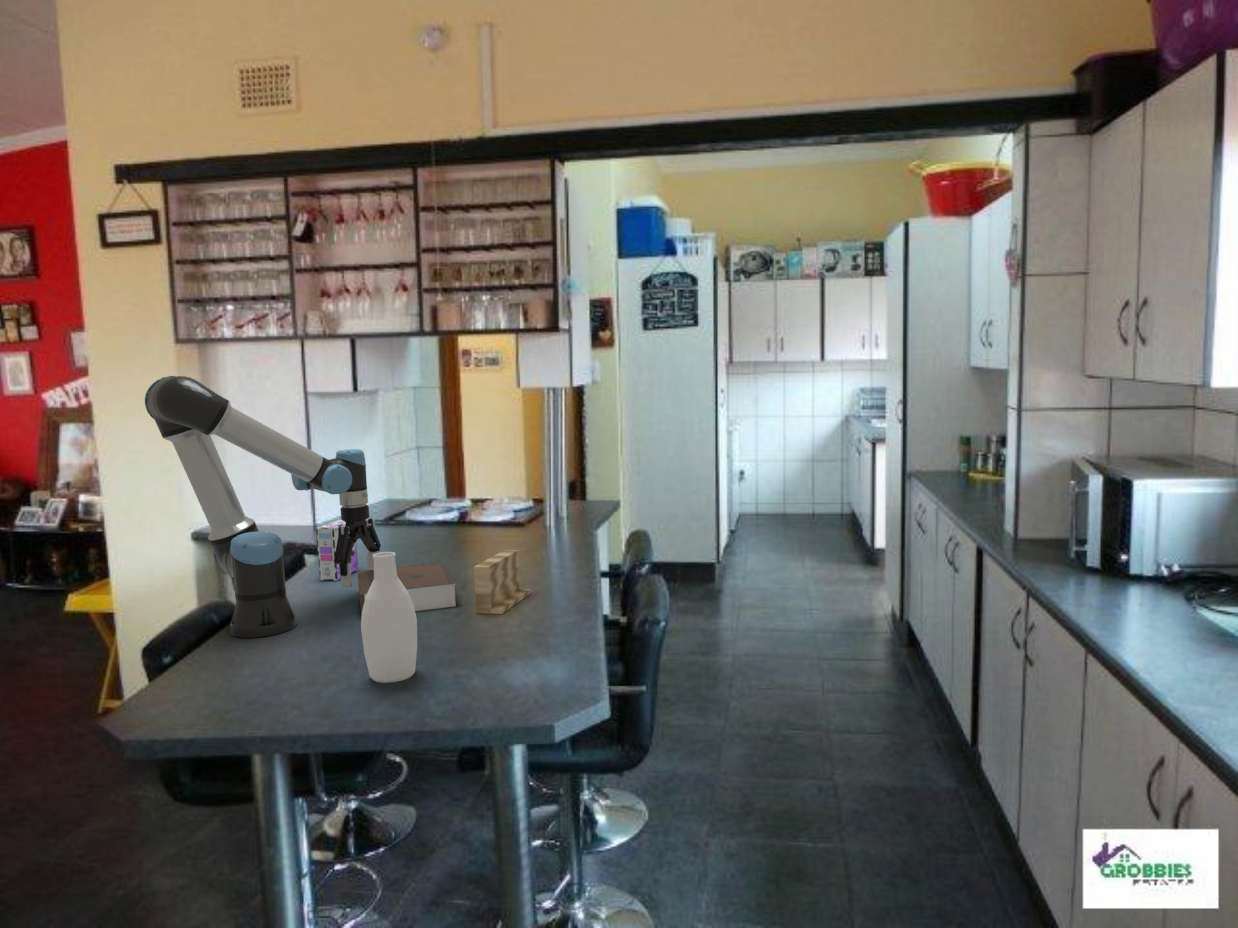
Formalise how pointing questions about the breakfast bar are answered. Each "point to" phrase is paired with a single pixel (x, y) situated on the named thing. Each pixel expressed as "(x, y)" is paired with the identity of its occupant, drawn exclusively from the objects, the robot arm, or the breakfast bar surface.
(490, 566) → the bookend
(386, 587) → the bottle
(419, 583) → the book
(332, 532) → the candy box
